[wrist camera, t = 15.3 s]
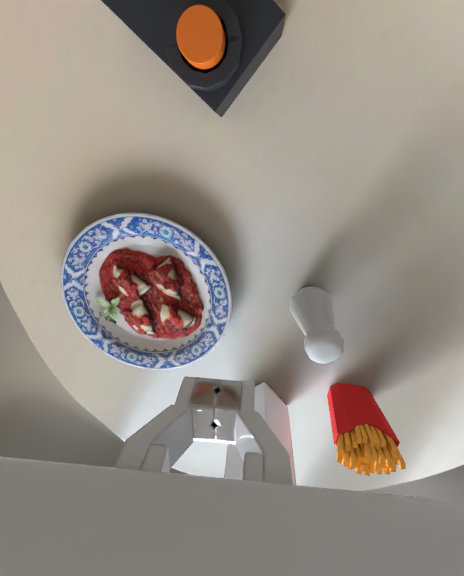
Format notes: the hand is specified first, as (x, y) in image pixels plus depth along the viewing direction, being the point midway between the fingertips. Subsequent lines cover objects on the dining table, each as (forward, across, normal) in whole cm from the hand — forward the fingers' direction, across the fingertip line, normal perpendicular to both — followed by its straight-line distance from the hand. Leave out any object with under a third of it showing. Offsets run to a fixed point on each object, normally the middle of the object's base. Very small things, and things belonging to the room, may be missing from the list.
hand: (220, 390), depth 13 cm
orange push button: (+24, +4, -18) cm, 30 cm away
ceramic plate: (+31, +15, +11) cm, 36 cm away
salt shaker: (+31, -9, +11) cm, 34 cm away
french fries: (+31, -18, +28) cm, 46 cm away
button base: (+31, +6, -21) cm, 38 cm away
